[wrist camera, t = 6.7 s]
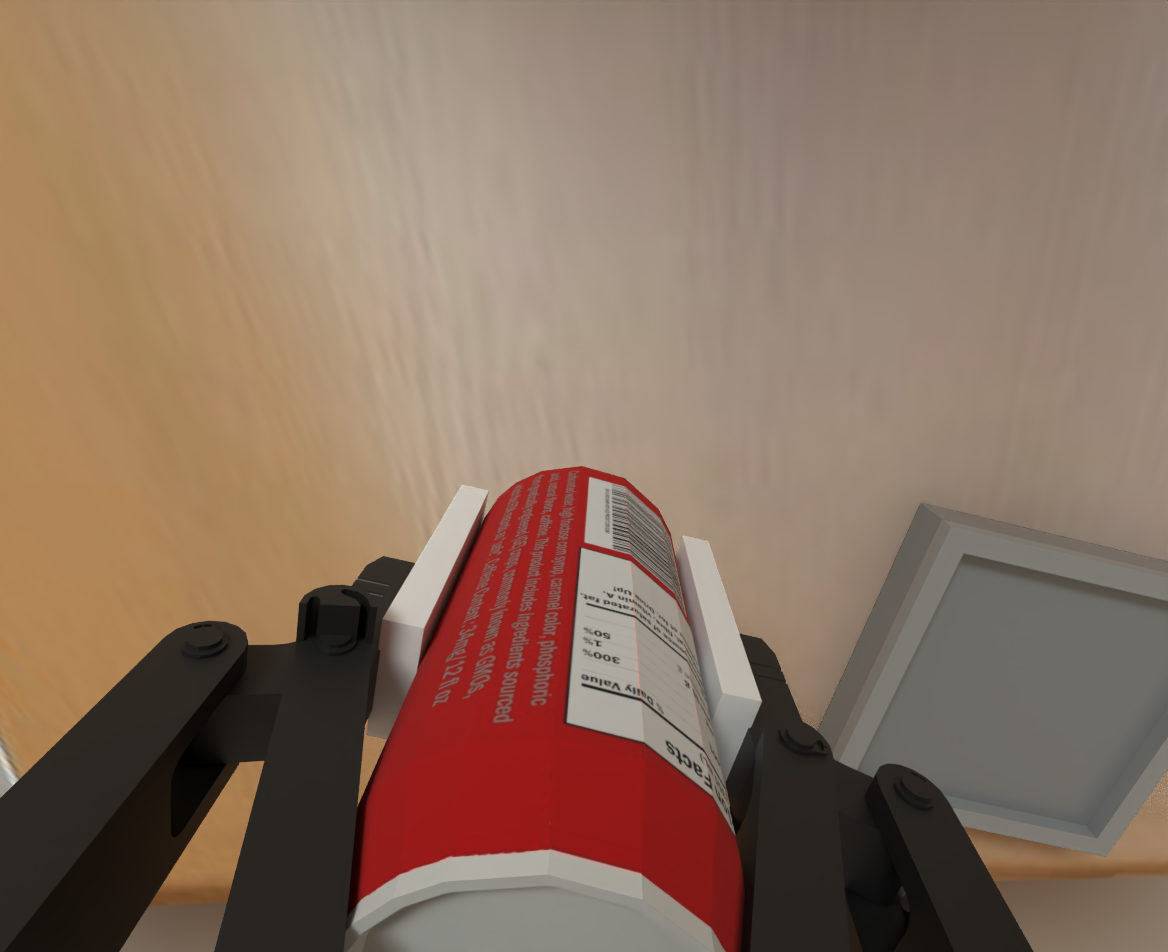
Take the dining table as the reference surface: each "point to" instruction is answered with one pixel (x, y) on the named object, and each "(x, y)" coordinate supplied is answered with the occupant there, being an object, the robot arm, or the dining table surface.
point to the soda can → (553, 750)
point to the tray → (1014, 679)
